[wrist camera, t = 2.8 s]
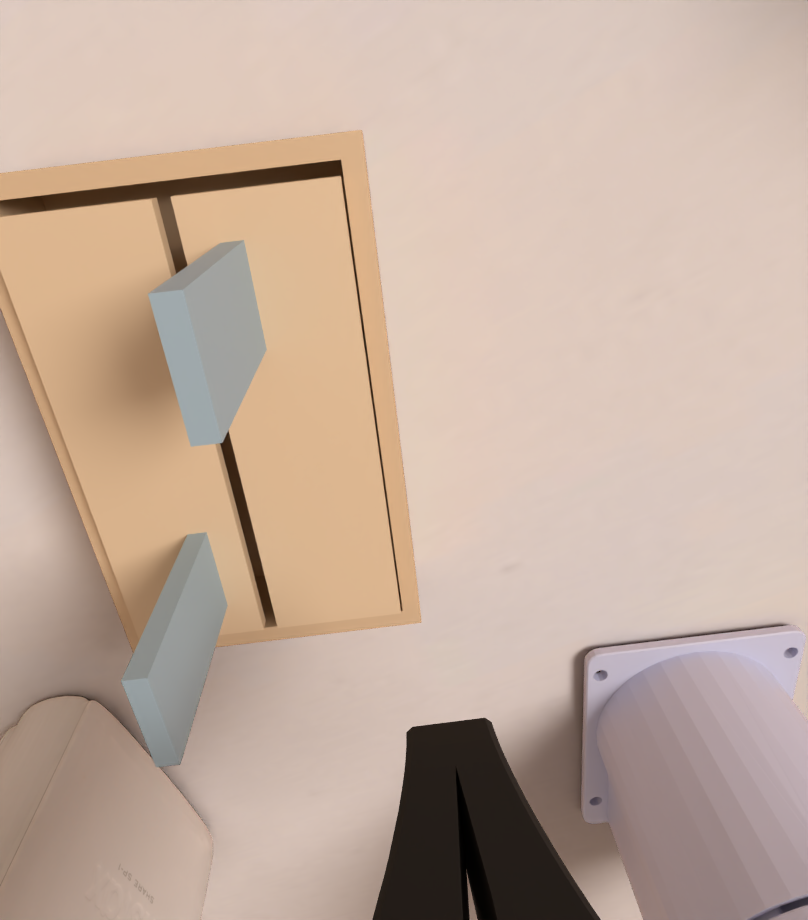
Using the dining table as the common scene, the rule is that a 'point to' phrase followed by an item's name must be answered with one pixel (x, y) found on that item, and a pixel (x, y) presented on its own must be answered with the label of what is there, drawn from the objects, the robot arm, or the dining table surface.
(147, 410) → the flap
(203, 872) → the photo printer
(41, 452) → the dining table surface
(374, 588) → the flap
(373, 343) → the carton
